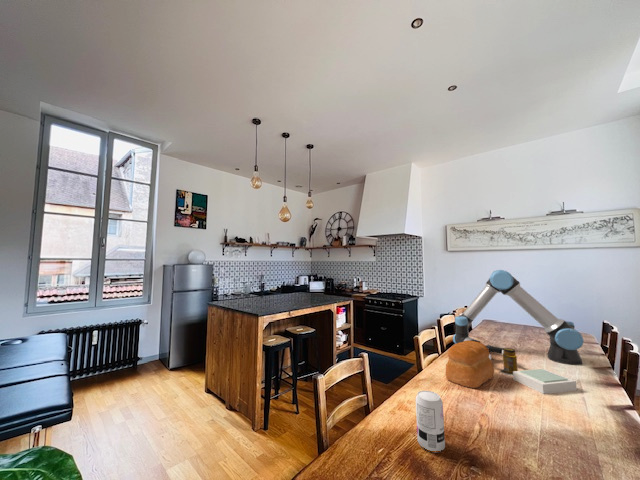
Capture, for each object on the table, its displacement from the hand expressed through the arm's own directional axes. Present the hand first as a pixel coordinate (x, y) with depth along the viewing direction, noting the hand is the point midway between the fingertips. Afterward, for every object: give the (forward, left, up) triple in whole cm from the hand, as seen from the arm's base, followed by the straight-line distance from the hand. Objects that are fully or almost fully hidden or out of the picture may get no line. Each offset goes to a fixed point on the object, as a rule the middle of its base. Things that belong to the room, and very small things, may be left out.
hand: (501, 356), depth 144 cm
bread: (+25, +6, -7) cm, 26 cm away
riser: (-4, +19, -7) cm, 21 cm away
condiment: (-1, +4, -7) cm, 8 cm away
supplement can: (+73, +48, -7) cm, 88 cm away
